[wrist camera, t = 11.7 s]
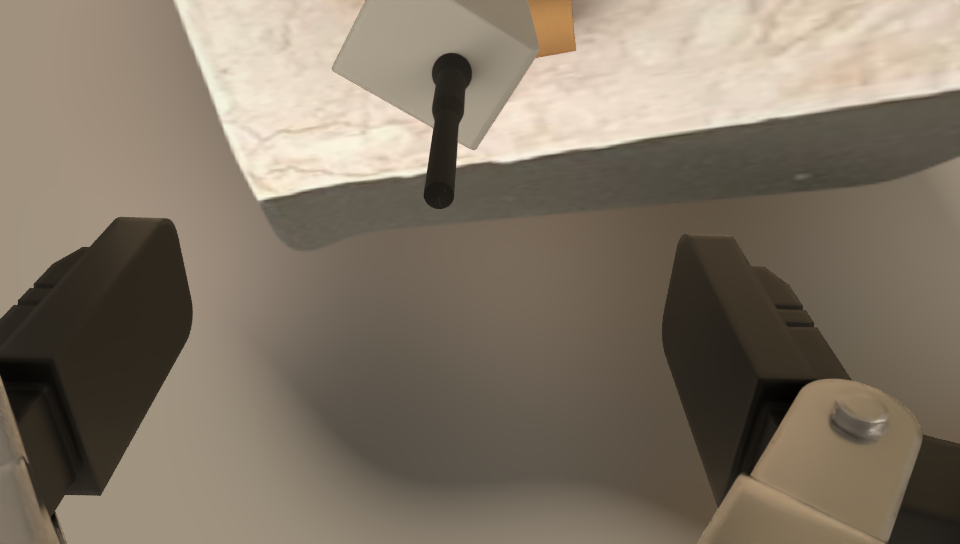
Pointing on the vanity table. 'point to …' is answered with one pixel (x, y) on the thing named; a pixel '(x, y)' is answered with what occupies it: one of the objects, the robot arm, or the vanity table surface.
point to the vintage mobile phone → (442, 69)
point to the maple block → (553, 26)
